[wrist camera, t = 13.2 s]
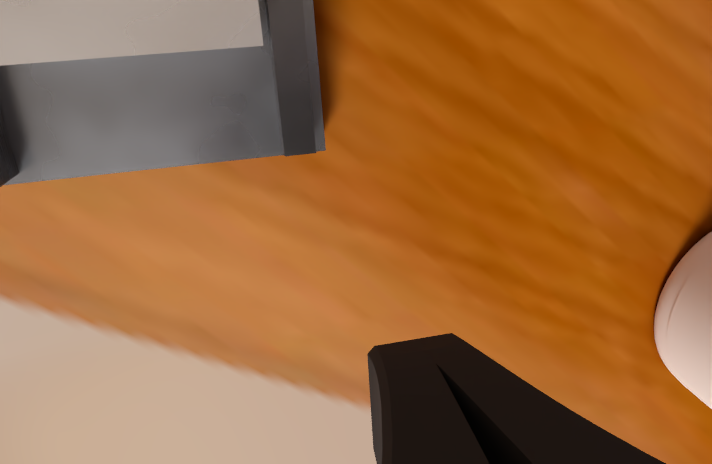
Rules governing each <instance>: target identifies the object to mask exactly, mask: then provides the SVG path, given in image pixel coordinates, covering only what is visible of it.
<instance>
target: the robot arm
mask: <svg viewBox="0 0 712 464" xmlns="http://www.w3.org/2000/svg"><path fill="white" fill-rule="evenodd" d="M368 369H369V384H370V400H371V416H372V431H373V445H374V446H373V447H374V452H375V457H376V461H377V464H666V463H664V462H662V461H660V460H658V459H656V458H654V457H652V456H650V455H648V454H647V453H645V452H643V451H641V450H639V449H638V448H636V447H634V446H632V445H630V444H629V443H627V442H625V441H623V440H622V439H620V438H618V437H616V436H614V435H613V434H611V433H609V432H607V431H606V430H604V429H602V428H600V427H598V426H597V425H595V424H593V423H592V422H590V421H588V420H587V419H585V418H583V417H582V416H580V415H578V414H576V413H575V412H573V411H571V410H570V409H568V408H567V407H565V406H563V405H562V404H560V403H558V402H557V401H555V400H554V399H552V398H551V397H549V396H547V395H546V394H544V393H543V392H541V391H539V390H538V389H536V388H535V387H533V386H532V385H530V384H529V383H527V382H526V381H524V380H522V379H521V378H519V377H518V376H516V375H515V374H513V373H512V372H510V371H509V370H507V369H506V368H504V367H503V366H501V365H500V364H498V363H497V362H495V361H494V360H492V359H491V358H489V357H488V356H486V355H485V354H483V353H482V352H480V351H479V350H477V349H476V348H474V347H473V346H471V345H470V344H468V343H467V342H465V341H464V340H462V339H461V338H459V337H457V336H456V335H454V334H452V333H450V334H444V335H438V336H432V337H426V338H420V339H414V340H408V341H402V342H396V343H390V344H384V345H378V346H374V347H373V348H372V350H371V351H370V352H369V353H368Z"/></svg>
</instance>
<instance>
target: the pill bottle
mask: <svg viewBox="0 0 712 464" xmlns="http://www.w3.org/2000/svg"><path fill="white" fill-rule="evenodd" d="M654 336H655V342H656V346H657V349H658V352H659V355H660V357H661V359H662V361H663V362H664V364H665V365H666V367H667V368H668V369H669V371H670V372H671V373H672V374H673V375H674V376H675V377H676V378H677V379H678V380H679V381H680V382H681V383H682V384H683V385H684V386H685V387H686V388H687V389H688V390H690V391H691V392H692V393H693V394H694V395H696V396H697V397H698V398H699V399H700V400H702V401H703V402H704V403H705V404H706V405H708V406H709V407H710V408H711V409H712V231H711V232H710V233H708V234H707V235H706V236H704V237H703V238H702V239H701V240H700V241H698V242H697V243H696V244H695V245H694V246H693V247H692V248H691V249H690V250H689V251H688V252H687V253H686V254H685V256H684V257H683V258H682V259H681V260H680V262H679V263H678V264H677V266H676V267H675V269H674V270H673V272H672V273H671V275H670V276H669V278H668V280H667V282H666V284H665V286H664V288H663V290H662V292H661V295H660V298H659V301H658V304H657V308H656V312H655V319H654Z"/></svg>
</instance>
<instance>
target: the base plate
mask: <svg viewBox="0 0 712 464" xmlns="http://www.w3.org/2000/svg"><path fill="white" fill-rule="evenodd" d="M258 3H259V12H260V20H261V29H262V37H263V46H254V47H241V48H228V49H214V50H201V51H188V52H174V53H161V54H148V55H135V56H121V57H108V58H95V59H82V60H68V61H55V62H42V63H29V64H15V65H2V66H0V187H1V186H2V185H9V184H18V183H27V182H36V181H46V180H55V179H64V178H74V177H83V176H92V175H101V174H111V173H120V172H129V171H139V170H148V169H157V168H166V167H176V166H185V165H194V164H204V163H213V162H222V161H231V160H241V159H250V158H259V157H269V156H278V155H284V156H291V155H300V154H309V153H316V151H324V150H326V149H325V138H324V126H323V114H322V102H321V90H320V78H319V66H318V54H317V42H316V30H315V18H314V6H313V0H258Z"/></svg>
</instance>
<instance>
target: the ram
mask: <svg viewBox="0 0 712 464" xmlns="http://www.w3.org/2000/svg"><path fill="white" fill-rule="evenodd" d="M254 46H263V37H262V29H261V20H260V12H259V3H258V0H0V66H2V65H15V64H29V63H42V62H55V61H68V60H82V59H95V58H108V57H121V56H135V55H148V54H161V53H174V52H188V51H201V50H214V49H228V48H241V47H254Z"/></svg>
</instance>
